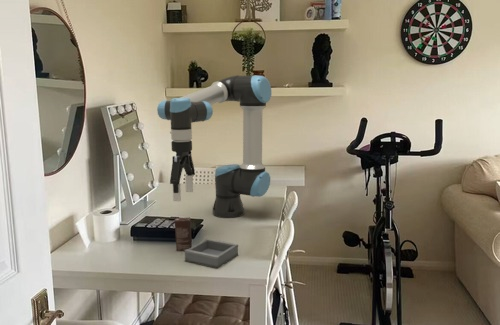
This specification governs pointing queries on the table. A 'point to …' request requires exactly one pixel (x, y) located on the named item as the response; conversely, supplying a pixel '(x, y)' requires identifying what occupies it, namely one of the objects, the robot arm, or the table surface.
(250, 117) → the robot arm
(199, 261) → the tray
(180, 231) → the box
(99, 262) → the table surface
